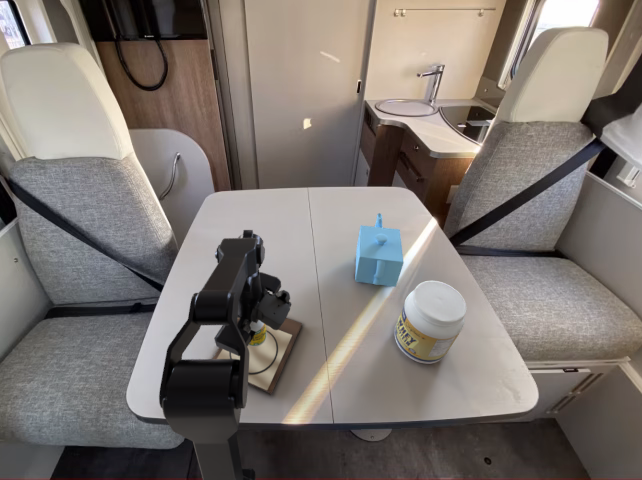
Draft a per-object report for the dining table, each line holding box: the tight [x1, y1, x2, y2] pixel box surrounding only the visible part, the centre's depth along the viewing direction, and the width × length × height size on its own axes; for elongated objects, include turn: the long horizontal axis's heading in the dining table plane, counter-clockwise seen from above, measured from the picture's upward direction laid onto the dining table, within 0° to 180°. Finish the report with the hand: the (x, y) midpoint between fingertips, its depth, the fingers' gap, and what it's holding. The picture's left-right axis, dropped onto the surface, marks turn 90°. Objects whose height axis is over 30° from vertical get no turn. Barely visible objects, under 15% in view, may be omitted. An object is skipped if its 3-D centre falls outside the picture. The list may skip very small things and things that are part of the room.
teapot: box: [354, 212, 405, 288], centre depth 89 cm, size 22×11×14 cm, turn 169°
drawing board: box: [212, 317, 303, 395], centre depth 75 cm, size 18×16×1 cm
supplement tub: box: [394, 280, 468, 365], centre depth 70 cm, size 12×12×17 cm
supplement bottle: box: [249, 320, 267, 347], centre depth 69 cm, size 5×5×10 cm
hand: (254, 330), depth 71 cm, fingers closed on supplement bottle, 5 cm apart
